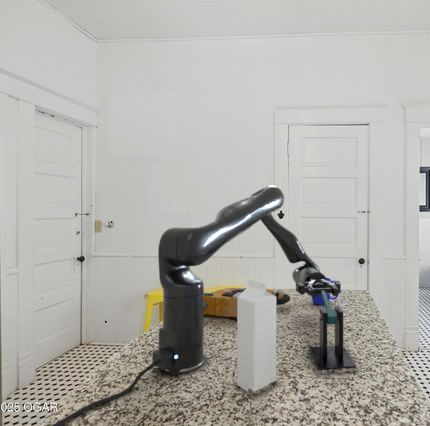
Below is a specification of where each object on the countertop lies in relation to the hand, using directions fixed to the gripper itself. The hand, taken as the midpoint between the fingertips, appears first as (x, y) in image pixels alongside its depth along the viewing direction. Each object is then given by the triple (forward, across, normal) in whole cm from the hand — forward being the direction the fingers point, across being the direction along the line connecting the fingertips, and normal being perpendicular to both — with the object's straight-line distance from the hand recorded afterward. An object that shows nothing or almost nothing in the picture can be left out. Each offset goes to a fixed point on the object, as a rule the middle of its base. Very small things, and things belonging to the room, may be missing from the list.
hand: (324, 292), depth 85 cm
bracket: (+7, 0, +15) cm, 17 cm away
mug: (-43, +9, +14) cm, 46 cm away
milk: (+16, -18, +16) cm, 29 cm away
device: (-36, -23, +14) cm, 45 cm away
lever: (+2, 0, +3) cm, 4 cm away
